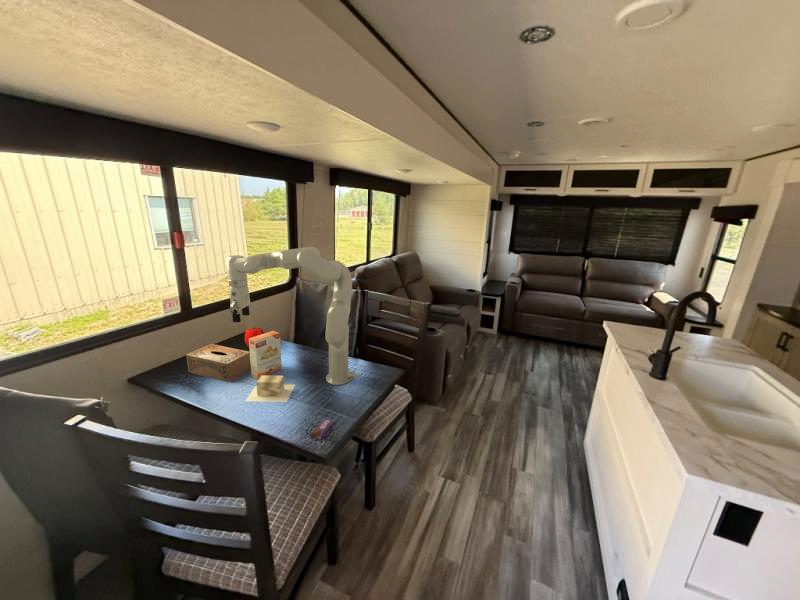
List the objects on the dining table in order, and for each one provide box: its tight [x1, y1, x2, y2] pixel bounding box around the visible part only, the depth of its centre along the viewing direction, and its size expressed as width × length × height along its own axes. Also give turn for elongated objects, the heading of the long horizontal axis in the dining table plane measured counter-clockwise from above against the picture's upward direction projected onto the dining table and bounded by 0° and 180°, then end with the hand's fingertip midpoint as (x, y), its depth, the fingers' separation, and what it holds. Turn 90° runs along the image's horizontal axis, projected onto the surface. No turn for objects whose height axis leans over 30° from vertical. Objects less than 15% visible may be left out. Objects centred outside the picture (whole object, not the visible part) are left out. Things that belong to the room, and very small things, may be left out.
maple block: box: [256, 375, 285, 396], centre depth 139 cm, size 10×6×7 cm, turn 94°
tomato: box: [244, 326, 265, 348], centre depth 182 cm, size 12×12×13 cm
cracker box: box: [248, 330, 282, 380], centre depth 154 cm, size 14×6×21 cm, turn 148°
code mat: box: [244, 383, 296, 403], centre depth 140 cm, size 18×14×1 cm
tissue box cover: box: [185, 343, 251, 383], centre depth 156 cm, size 26×14×10 cm, turn 73°
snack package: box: [308, 417, 337, 440], centre depth 118 cm, size 12×2×5 cm
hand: (241, 318), depth 143 cm, fingers open, 9 cm apart
